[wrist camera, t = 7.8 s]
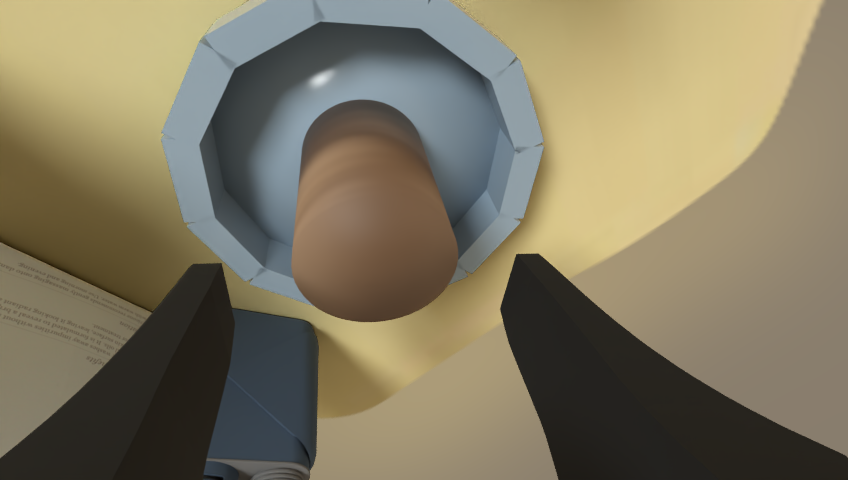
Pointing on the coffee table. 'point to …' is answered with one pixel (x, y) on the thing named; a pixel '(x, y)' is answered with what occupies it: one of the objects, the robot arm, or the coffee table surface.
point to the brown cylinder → (369, 216)
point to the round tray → (333, 84)
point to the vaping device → (267, 402)
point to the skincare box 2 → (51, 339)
